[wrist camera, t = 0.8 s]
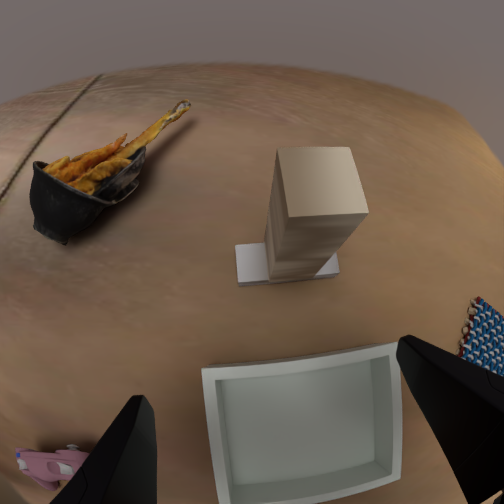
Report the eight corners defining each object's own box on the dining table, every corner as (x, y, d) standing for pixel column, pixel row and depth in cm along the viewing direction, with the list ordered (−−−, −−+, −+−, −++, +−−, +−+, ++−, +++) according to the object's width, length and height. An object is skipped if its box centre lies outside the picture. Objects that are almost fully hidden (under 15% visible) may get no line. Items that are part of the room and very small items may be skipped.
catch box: (374, 343, 22) (397, 341, 18) (380, 463, 18) (400, 478, 14) (209, 364, 21) (201, 368, 17) (224, 489, 18) (220, 512, 14)
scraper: (328, 241, 25) (390, 149, 12) (334, 279, 24) (412, 211, 11) (235, 248, 24) (224, 151, 12) (239, 288, 23) (228, 221, 11)
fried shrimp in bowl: (8, 207, 20) (96, 49, 20) (89, 235, 30) (164, 101, 29) (13, 246, 16) (132, 32, 15) (120, 275, 25) (215, 106, 24)
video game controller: (118, 451, 20) (71, 437, 15) (127, 494, 16) (79, 492, 11) (48, 454, 18) (1, 437, 13) (54, 491, 15) (5, 481, 10)
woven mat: (515, 332, 22) (526, 330, 20) (487, 416, 19) (498, 418, 17) (468, 294, 24) (480, 290, 22) (434, 389, 21) (446, 391, 19)
